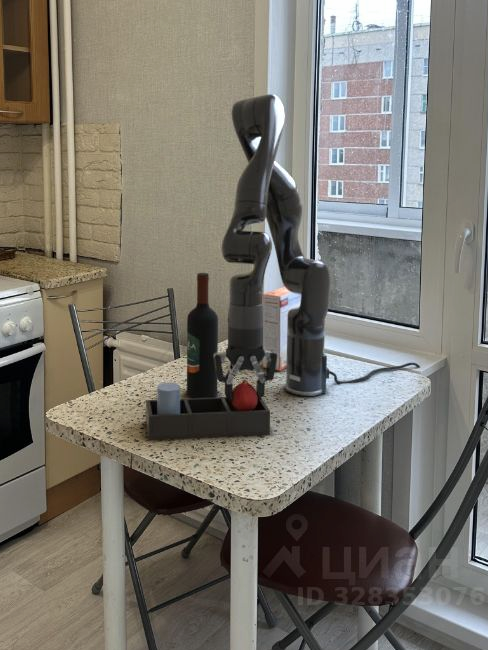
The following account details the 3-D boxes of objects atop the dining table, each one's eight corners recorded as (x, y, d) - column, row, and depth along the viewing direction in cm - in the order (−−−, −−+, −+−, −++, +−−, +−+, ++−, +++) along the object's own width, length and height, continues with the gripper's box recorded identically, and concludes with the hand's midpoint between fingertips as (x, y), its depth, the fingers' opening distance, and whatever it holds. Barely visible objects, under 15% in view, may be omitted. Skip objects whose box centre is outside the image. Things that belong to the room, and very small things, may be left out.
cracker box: (284, 355, 197) (285, 284, 195) (302, 359, 193) (304, 287, 191) (260, 367, 185) (261, 293, 183) (280, 372, 182) (281, 296, 180)
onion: (229, 409, 149) (229, 374, 148) (254, 409, 149) (255, 374, 149) (233, 420, 143) (233, 384, 142) (259, 419, 143) (260, 383, 143)
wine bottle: (214, 401, 161) (215, 277, 158) (183, 398, 162) (184, 276, 160) (219, 389, 168) (220, 271, 166) (189, 387, 170) (190, 270, 167)
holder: (259, 417, 151) (260, 395, 151) (269, 434, 142) (270, 411, 142) (145, 422, 148) (145, 400, 148) (148, 440, 139) (148, 416, 139)
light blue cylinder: (178, 422, 147) (178, 382, 146) (181, 431, 142) (181, 390, 141) (155, 423, 146) (156, 383, 146) (157, 432, 141) (157, 391, 141)
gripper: (215, 328, 140) (214, 407, 141) (282, 327, 141) (281, 404, 143) (209, 319, 147) (209, 394, 149) (273, 317, 149) (272, 391, 150)
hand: (244, 398), depth 146 cm, fingers closed on onion, 6 cm apart
